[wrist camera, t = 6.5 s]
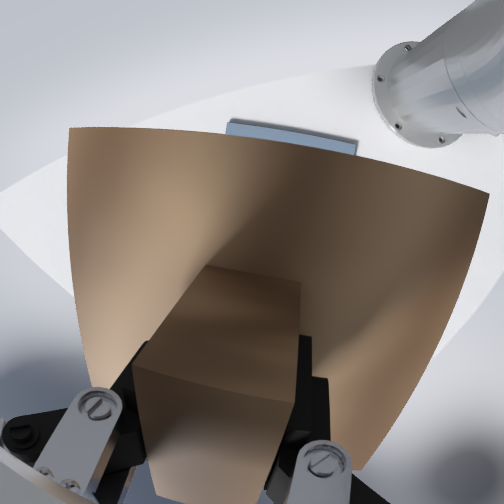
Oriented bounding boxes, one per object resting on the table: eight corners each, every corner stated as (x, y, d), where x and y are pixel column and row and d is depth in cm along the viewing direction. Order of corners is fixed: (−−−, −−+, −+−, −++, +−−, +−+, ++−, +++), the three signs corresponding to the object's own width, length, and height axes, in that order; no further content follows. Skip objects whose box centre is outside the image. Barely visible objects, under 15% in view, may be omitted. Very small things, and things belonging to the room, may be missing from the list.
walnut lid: (475, 188, 9) (598, 244, 3) (359, 456, 14) (364, 552, 8) (85, 127, 10) (-49, 140, 4) (107, 402, 15) (55, 479, 9)
